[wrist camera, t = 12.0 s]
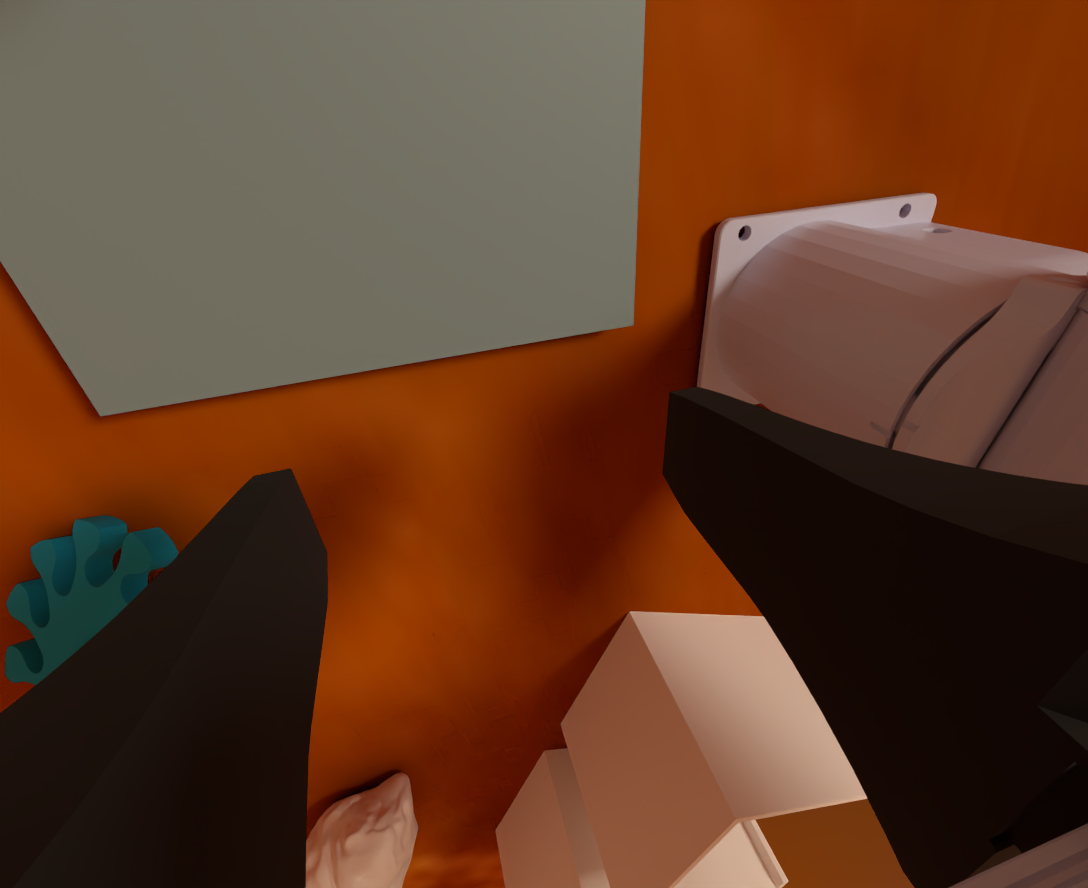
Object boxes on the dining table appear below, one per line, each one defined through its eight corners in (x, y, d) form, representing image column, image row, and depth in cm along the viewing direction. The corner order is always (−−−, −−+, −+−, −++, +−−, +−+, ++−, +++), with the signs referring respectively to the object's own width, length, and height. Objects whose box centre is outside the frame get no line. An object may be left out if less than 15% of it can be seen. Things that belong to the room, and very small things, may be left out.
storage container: (627, 608, 30) (736, 819, 21) (762, 614, 34) (898, 789, 25) (494, 827, 40) (529, 1028, 31) (611, 809, 45) (669, 981, 36)
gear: (96, 460, 15) (249, 767, 14) (262, 450, 21) (383, 667, 19) (-69, 630, 18) (42, 896, 17) (115, 581, 24) (210, 777, 22)
